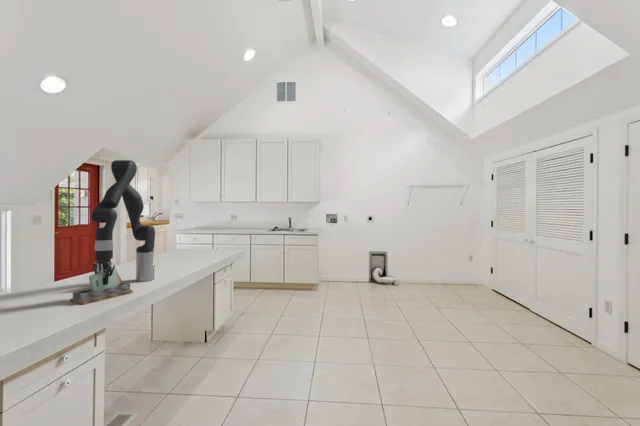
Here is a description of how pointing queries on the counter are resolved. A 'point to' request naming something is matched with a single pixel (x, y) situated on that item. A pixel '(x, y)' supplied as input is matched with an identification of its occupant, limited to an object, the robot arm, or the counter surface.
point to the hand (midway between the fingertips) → (103, 284)
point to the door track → (100, 294)
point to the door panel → (97, 281)
